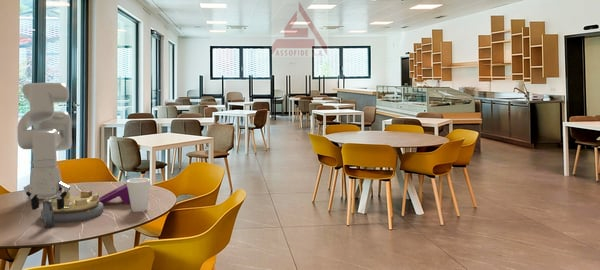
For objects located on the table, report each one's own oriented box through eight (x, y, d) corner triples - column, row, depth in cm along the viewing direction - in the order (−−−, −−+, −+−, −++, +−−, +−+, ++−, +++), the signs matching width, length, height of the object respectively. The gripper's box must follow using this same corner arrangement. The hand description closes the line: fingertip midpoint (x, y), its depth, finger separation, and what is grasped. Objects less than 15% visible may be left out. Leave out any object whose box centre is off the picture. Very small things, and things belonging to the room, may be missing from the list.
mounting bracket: (104, 219, 199) (142, 199, 203) (95, 203, 197) (133, 183, 201) (106, 213, 208) (142, 194, 212) (97, 198, 206) (134, 179, 210)
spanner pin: (42, 227, 167) (40, 201, 166) (49, 225, 170) (47, 199, 169) (49, 228, 166) (47, 202, 165) (56, 225, 169) (54, 200, 168)
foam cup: (131, 207, 196) (130, 178, 195) (153, 206, 197) (152, 177, 196) (125, 213, 187) (123, 182, 186) (147, 212, 188) (146, 182, 186)
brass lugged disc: (77, 214, 173) (76, 203, 172) (33, 212, 177) (32, 201, 176) (109, 201, 192) (108, 191, 192) (68, 199, 196) (67, 189, 196)
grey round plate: (27, 220, 177) (26, 212, 177) (71, 205, 199) (71, 198, 199) (74, 224, 171) (74, 217, 170) (115, 209, 193) (114, 202, 192)
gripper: (16, 165, 162) (19, 211, 164) (62, 165, 162) (64, 211, 163) (29, 162, 170) (32, 206, 171) (73, 162, 169) (76, 206, 171)
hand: (48, 208), depth 167 cm, fingers open, 9 cm apart
